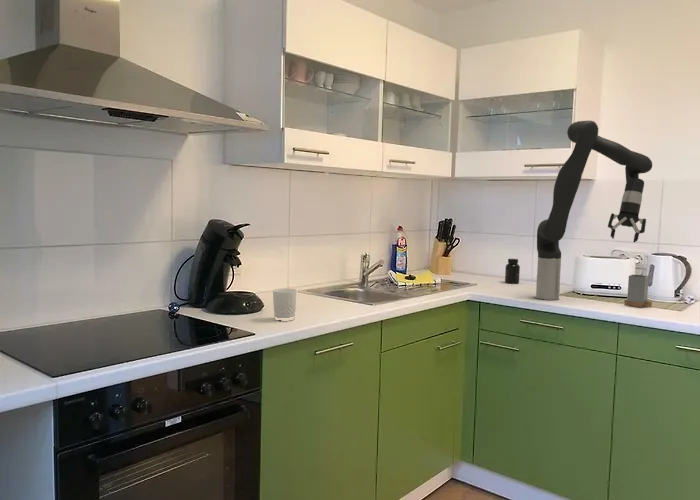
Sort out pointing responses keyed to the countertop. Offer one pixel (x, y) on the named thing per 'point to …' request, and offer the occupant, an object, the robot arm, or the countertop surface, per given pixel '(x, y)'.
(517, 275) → the supplement bottle
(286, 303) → the white cup
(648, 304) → the post
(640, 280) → the sleeve
